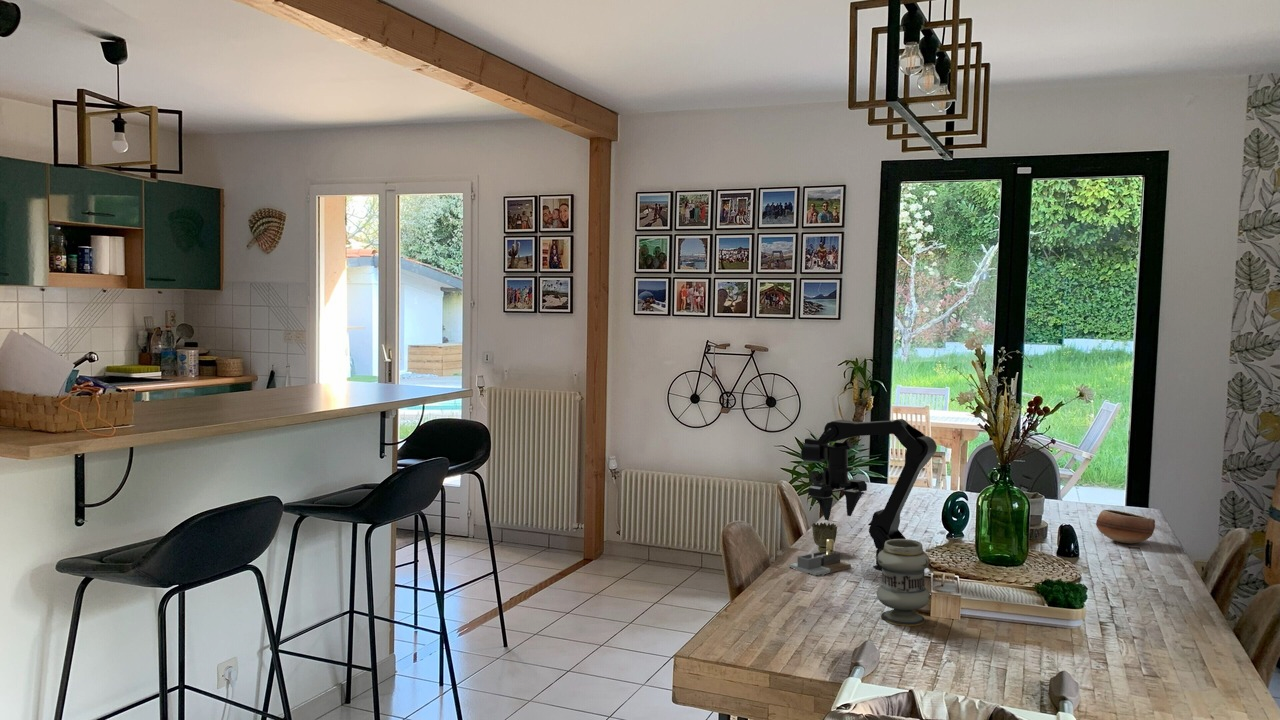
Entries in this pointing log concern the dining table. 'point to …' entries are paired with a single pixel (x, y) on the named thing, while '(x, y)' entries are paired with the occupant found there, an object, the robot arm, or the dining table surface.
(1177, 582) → the dining table surface
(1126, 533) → the bowl
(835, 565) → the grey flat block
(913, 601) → the apothecary jar
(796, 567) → the jamb keeper
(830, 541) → the bolt
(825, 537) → the cup
